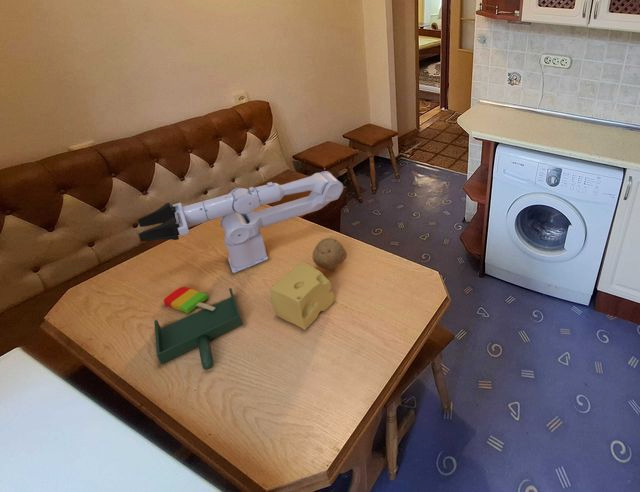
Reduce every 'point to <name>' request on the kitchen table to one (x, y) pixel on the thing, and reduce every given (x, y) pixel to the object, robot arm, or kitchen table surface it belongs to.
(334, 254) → the natural sponge
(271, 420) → the kitchen table surface
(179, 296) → the popsicle
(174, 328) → the dustpan
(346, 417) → the kitchen table surface
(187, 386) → the kitchen table surface
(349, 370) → the kitchen table surface
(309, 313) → the cheese
